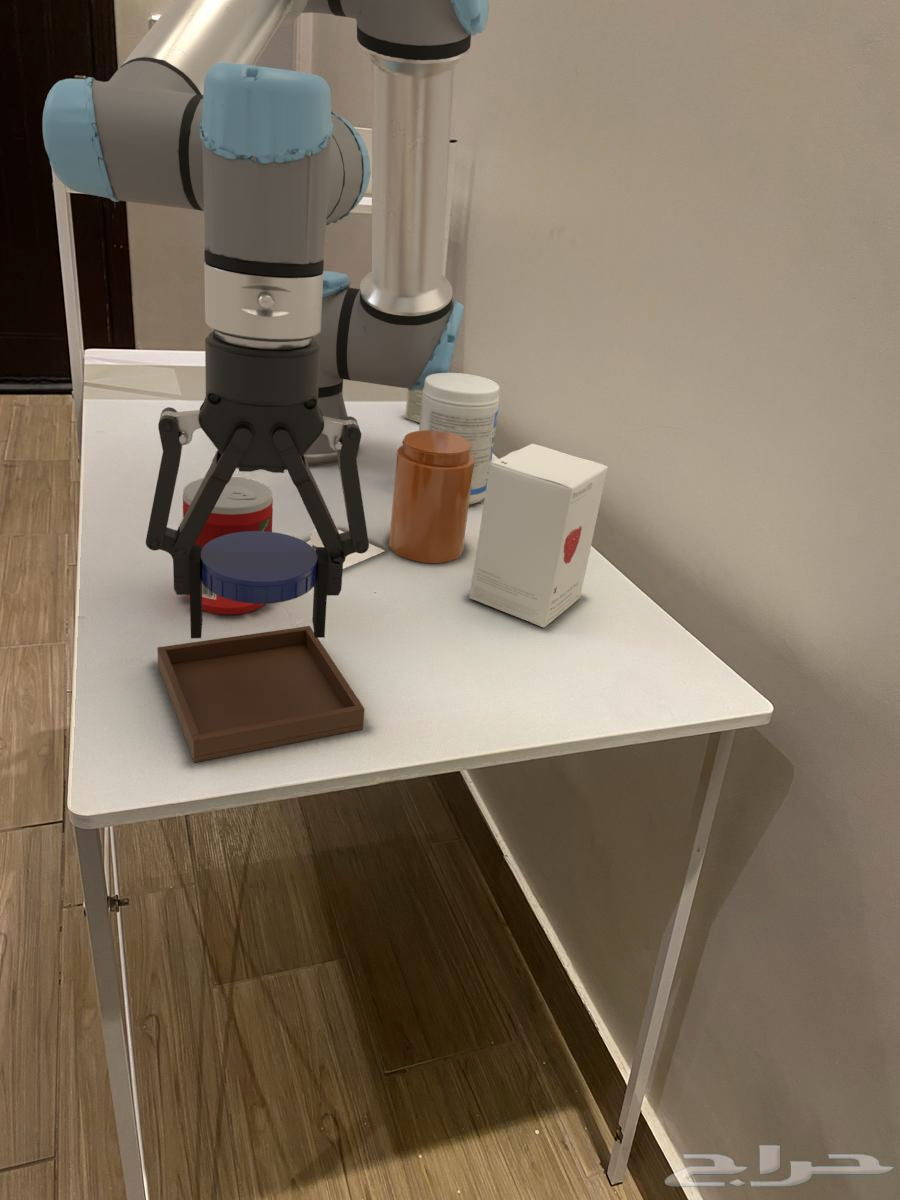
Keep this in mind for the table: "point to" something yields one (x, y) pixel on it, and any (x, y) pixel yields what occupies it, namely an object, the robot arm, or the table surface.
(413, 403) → the cosmetics bottle
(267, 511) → the canned food
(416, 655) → the table surface
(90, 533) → the table surface
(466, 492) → the jar
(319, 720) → the tray
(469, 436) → the supplement tub
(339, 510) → the table surface
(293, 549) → the lid
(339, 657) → the table surface
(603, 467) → the rectangular carton
